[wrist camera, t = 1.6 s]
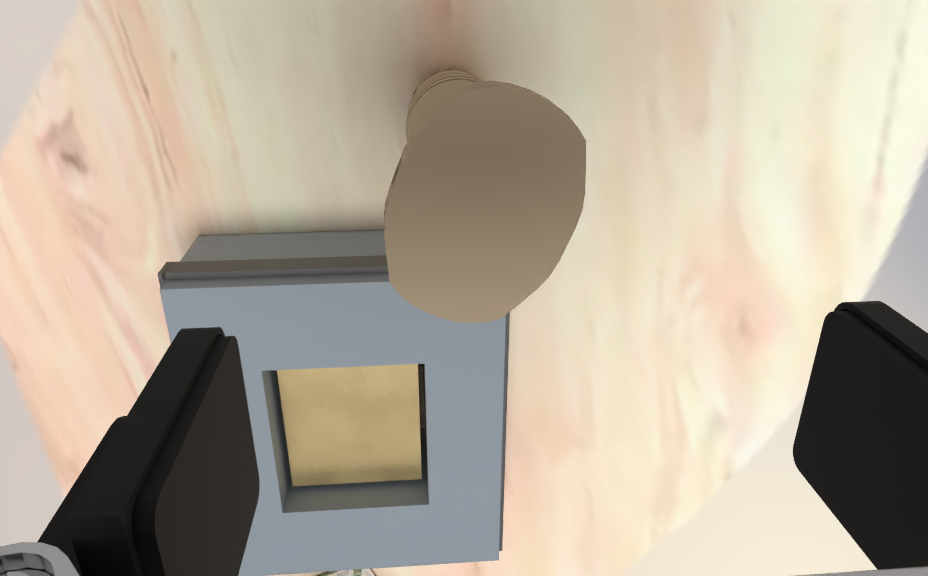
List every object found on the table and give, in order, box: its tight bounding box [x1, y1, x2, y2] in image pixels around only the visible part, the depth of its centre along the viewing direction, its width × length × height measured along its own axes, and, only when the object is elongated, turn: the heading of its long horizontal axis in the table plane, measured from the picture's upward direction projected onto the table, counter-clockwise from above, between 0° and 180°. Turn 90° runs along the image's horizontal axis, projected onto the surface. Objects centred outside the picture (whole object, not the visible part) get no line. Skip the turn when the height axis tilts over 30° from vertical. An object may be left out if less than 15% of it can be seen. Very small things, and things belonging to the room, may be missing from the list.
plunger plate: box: [277, 364, 422, 486], centre depth 33 cm, size 7×6×1 cm
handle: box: [384, 68, 586, 323], centre depth 25 cm, size 5×6×15 cm
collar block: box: [158, 230, 510, 576], centre depth 34 cm, size 17×15×6 cm
